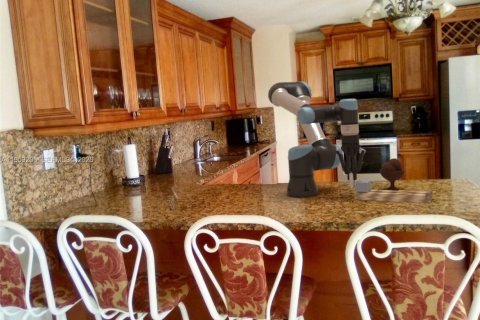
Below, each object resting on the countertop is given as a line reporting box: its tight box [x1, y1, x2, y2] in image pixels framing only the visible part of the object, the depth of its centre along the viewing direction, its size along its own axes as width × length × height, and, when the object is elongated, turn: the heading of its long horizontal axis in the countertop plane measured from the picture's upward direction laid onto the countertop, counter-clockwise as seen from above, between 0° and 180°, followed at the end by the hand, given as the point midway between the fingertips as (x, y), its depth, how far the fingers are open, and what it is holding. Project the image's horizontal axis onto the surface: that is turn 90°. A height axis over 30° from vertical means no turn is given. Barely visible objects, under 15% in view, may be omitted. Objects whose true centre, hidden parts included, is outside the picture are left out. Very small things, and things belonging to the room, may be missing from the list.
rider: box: [355, 179, 373, 192], centre depth 180 cm, size 5×7×6 cm
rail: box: [354, 189, 434, 204], centre depth 174 cm, size 30×8×4 cm, turn 58°
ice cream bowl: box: [379, 158, 406, 191], centre depth 192 cm, size 11×11×15 cm
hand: (352, 187), depth 182 cm, fingers closed
